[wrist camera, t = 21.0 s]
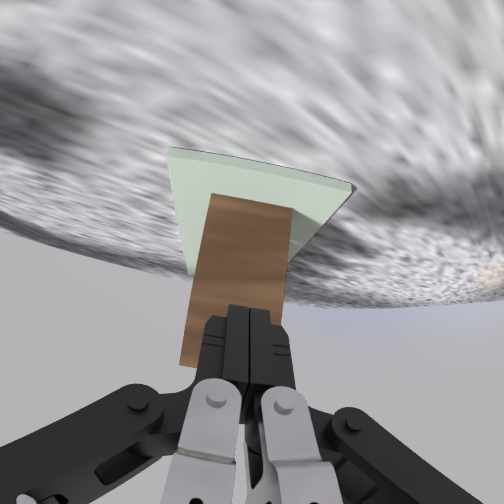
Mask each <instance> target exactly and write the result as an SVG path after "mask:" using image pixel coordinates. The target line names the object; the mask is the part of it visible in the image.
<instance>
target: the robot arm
mask: <svg viewBox="0 0 504 504" xmlns="http://www.w3.org/2000/svg"><path fill="white" fill-rule="evenodd" d="M239 424H245V440H244V455H245V468H246V480H247V497H246V504H483V503H482V502H481V501H479V500H478V499H476V498H475V497H473V496H472V495H471V494H469V493H468V492H466V491H465V490H464V489H462V488H461V487H460V486H458V485H457V484H455V483H454V482H453V481H451V480H450V479H449V478H447V477H445V476H444V475H443V474H442V473H441V472H439V471H438V470H436V469H435V468H434V467H433V466H431V465H430V464H429V463H427V462H426V461H425V460H423V459H422V458H421V457H420V456H418V455H417V454H416V453H414V452H413V451H412V450H411V449H409V448H408V447H407V446H405V445H404V444H403V443H402V442H400V441H399V440H398V439H397V438H395V437H394V436H393V435H392V434H390V433H389V432H388V431H387V430H385V429H384V428H383V427H382V426H380V425H379V424H378V423H377V422H376V421H375V420H373V419H372V418H371V417H369V416H368V415H367V414H366V413H365V412H363V411H362V410H360V409H357V408H353V407H345V408H341V409H339V410H338V411H337V412H335V414H334V415H332V414H329V413H325V412H322V411H319V410H316V409H313V408H311V407H309V406H308V405H307V402H306V400H305V398H304V397H303V396H302V395H301V394H300V393H299V392H298V391H296V387H295V380H294V373H293V366H292V359H291V352H290V344H289V338H288V335H287V333H286V332H285V330H284V329H283V327H282V326H280V325H273V324H271V319H270V311H269V310H264V309H257V308H251V307H250V308H249V307H245V306H239V305H233V304H229V305H228V310H227V315H226V317H221V316H216V315H212V316H211V317H210V318H209V320H208V321H207V322H206V323H205V327H204V332H203V338H202V343H201V349H200V354H199V360H198V365H197V371H196V376H195V380H194V382H193V383H192V384H191V385H190V386H189V387H188V388H187V389H185V390H183V391H180V392H177V393H168V394H159V393H158V392H157V391H155V390H154V389H153V388H151V387H149V386H147V385H143V384H129V385H126V386H124V387H122V388H120V389H118V390H116V391H114V392H112V393H111V394H109V395H107V396H105V397H103V398H101V399H99V400H97V401H95V402H93V403H92V404H90V405H88V406H86V407H84V408H82V409H80V410H78V411H76V412H74V413H72V414H70V415H68V416H66V417H64V418H62V419H60V420H58V421H56V422H54V423H52V424H50V425H48V426H46V427H43V428H41V429H39V430H37V431H35V432H33V433H31V434H29V435H26V436H24V437H22V438H20V439H18V440H15V441H13V442H11V443H9V444H6V445H4V446H2V447H0V504H89V503H91V502H92V501H94V500H96V499H98V498H99V497H101V496H103V495H104V494H106V493H108V492H109V491H111V490H113V489H115V488H116V487H118V486H119V485H121V484H123V483H124V482H126V481H128V480H129V479H131V478H132V477H134V476H135V475H137V474H138V473H140V472H141V471H143V470H144V469H146V468H147V467H149V466H150V465H152V464H153V463H155V462H156V461H158V460H159V459H160V458H161V457H162V456H167V455H173V457H172V461H171V465H170V468H169V473H168V476H167V480H166V484H165V488H164V492H163V496H162V500H161V504H232V497H233V489H234V481H235V472H236V462H235V449H236V442H237V433H238V425H239Z"/></svg>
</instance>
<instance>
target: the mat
mask: <svg viewBox="0 0 504 504" xmlns="http://www.w3.org/2000/svg"><path fill="white" fill-rule="evenodd" d="M166 159H167V165H168V171H169V177H170V183H171V189H172V195H173V201H174V206H175V212H176V217H177V222H178V227H179V232H180V238H181V242H182V247H183V252H184V257H185V262H186V266H187V271H188V275H189V276H193V277H194V275H195V269H196V264H197V259H198V254H199V249H200V244H201V239H202V234H203V229H204V225H205V220H206V215H207V211H208V206H209V202H210V197H211V193H215V194H221V195H226V196H232V197H237V198H243V199H248V200H253V201H259V202H264V203H269V204H274V205H279V206H284V207H289V208H293V212H292V223H291V234H290V244H289V254H288V262H289V261H290V260H291V259H292V258H293V257H294V256H295V255H296V254H297V253H298V252H299V250H300V249H301V248H302V247H303V246H304V245H305V244H306V243H307V242H308V241H309V240H310V238H311V237H312V236H313V235H314V234H315V233H316V232H317V231H318V230H319V229H320V228H321V226H322V225H323V224H324V223H325V222H326V221H327V220H328V219H329V218H330V216H331V215H332V214H333V213H334V212H335V211H336V210H337V209H338V208H339V206H340V205H341V204H342V203H343V202H344V201H345V200H346V199H347V197H348V196H349V195H350V194H351V193H352V189H351V183H347V182H343V181H340V180H336V179H332V178H328V177H324V176H320V175H316V174H312V173H308V172H303V171H299V170H295V169H290V168H286V167H281V166H276V165H272V164H267V163H262V162H257V161H252V160H247V159H241V158H236V157H230V156H225V155H219V154H213V153H207V152H200V151H194V150H187V149H180V148H173V147H169V149H168V152H167V155H166Z"/></svg>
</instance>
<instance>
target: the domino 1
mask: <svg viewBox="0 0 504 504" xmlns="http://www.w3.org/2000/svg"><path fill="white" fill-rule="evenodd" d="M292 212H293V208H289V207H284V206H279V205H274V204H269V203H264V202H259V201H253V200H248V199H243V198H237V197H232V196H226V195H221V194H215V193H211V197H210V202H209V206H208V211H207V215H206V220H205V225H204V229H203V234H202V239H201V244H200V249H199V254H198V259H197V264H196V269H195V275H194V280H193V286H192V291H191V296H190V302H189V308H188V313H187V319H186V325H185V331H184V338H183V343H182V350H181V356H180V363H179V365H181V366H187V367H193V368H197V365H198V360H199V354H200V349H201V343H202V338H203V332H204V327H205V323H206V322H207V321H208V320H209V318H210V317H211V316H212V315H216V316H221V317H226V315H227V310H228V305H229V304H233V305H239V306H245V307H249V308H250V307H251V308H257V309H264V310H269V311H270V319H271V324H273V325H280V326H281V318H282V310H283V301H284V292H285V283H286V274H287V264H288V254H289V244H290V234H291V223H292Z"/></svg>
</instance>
